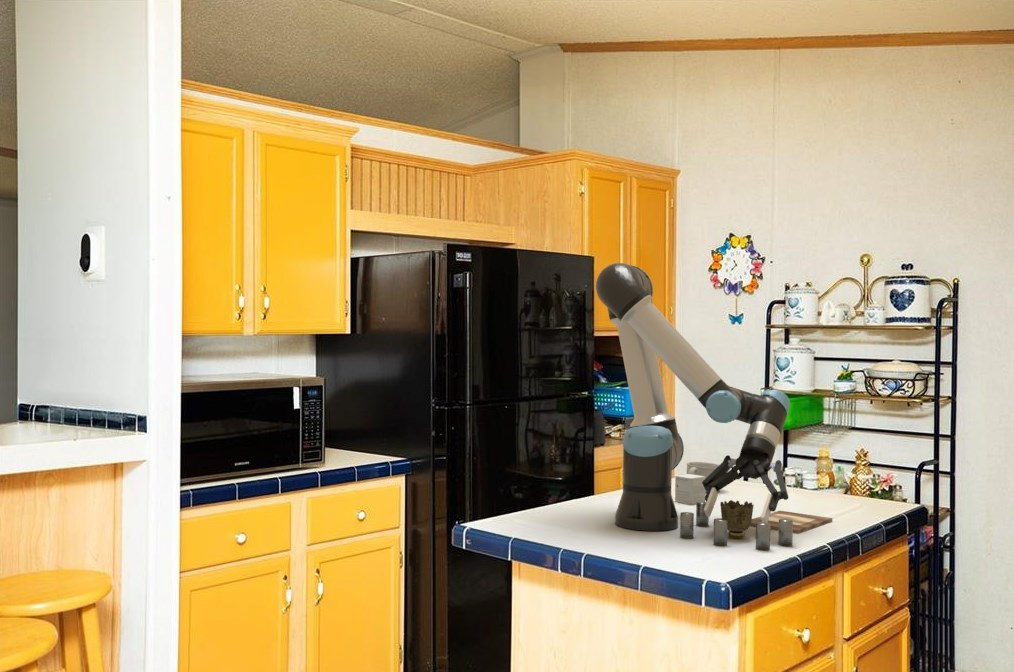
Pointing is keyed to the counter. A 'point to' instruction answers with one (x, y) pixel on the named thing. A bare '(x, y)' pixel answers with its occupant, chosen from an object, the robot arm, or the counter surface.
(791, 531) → the spacer field
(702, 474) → the teacup
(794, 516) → the walnut pad
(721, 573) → the counter surface
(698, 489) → the product box
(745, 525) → the cup
